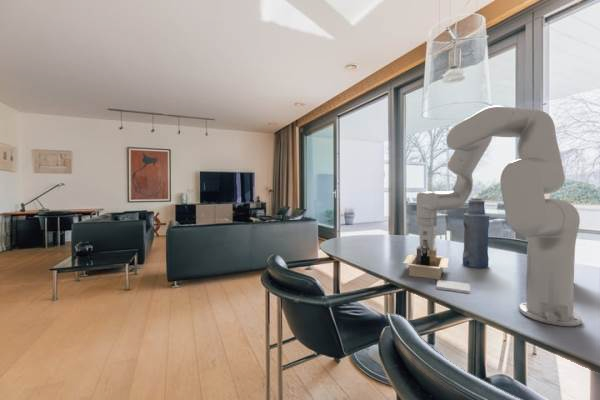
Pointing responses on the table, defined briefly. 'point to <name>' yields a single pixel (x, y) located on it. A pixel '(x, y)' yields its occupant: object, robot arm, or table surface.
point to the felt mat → (453, 286)
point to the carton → (426, 267)
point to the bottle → (476, 235)
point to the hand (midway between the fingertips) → (426, 262)
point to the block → (431, 254)
